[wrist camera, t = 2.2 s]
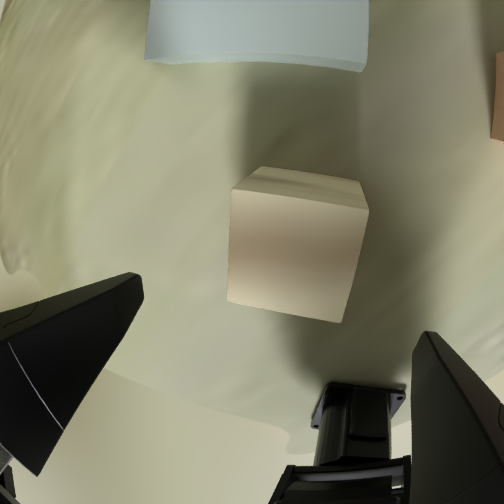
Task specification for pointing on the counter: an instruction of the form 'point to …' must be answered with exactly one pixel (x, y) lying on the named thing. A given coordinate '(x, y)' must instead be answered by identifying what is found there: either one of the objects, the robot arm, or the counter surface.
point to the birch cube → (295, 242)
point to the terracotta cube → (499, 100)
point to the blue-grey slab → (259, 32)
